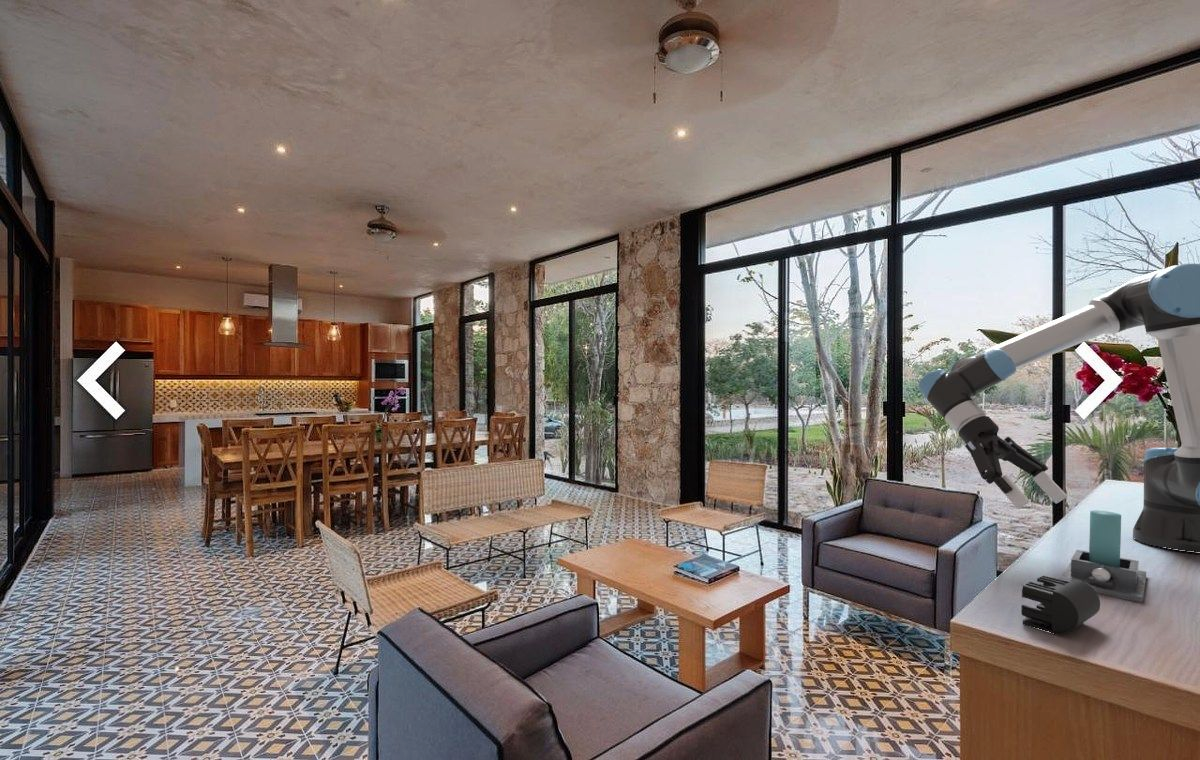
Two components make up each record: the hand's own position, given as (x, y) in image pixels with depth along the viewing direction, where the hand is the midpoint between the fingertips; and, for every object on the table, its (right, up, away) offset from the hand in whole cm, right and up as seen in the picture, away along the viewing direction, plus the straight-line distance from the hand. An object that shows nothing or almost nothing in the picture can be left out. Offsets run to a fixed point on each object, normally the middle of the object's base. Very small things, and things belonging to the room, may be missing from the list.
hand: (1043, 502), depth 116 cm
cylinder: (+4, -12, -10) cm, 16 cm away
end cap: (-22, -13, -30) cm, 39 cm away
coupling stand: (+4, -13, -10) cm, 17 cm away
